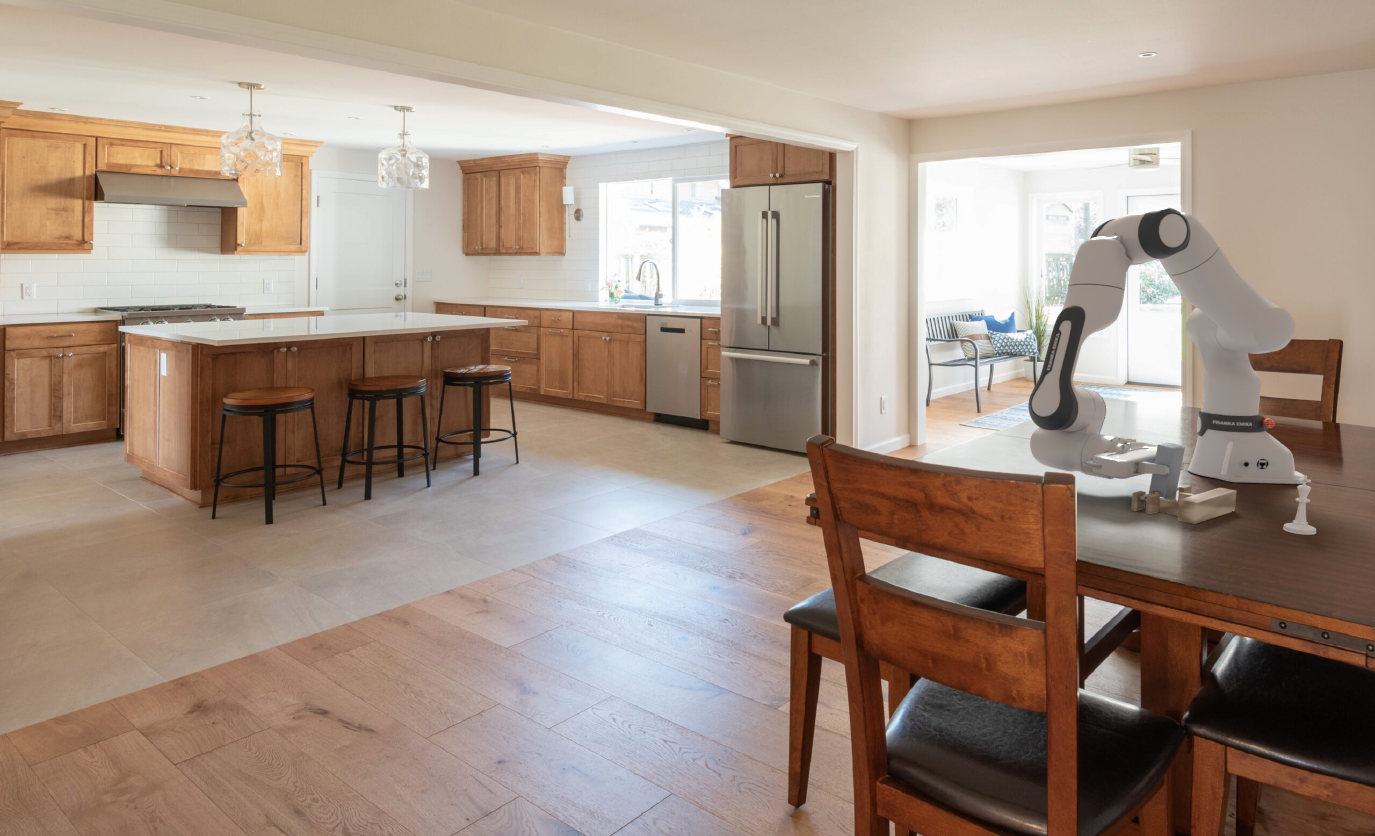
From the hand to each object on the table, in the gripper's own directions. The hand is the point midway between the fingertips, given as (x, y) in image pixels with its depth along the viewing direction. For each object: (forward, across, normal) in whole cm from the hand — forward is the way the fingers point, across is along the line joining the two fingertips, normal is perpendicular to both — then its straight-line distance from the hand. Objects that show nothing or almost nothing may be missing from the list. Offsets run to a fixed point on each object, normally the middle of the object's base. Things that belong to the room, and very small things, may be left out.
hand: (1175, 468), depth 170 cm
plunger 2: (-2, +5, +6) cm, 8 cm away
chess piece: (+21, +3, +8) cm, 23 cm away
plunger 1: (-2, -5, +6) cm, 8 cm away
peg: (-2, 0, +6) cm, 6 cm away
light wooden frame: (+2, 0, +8) cm, 8 cm away
